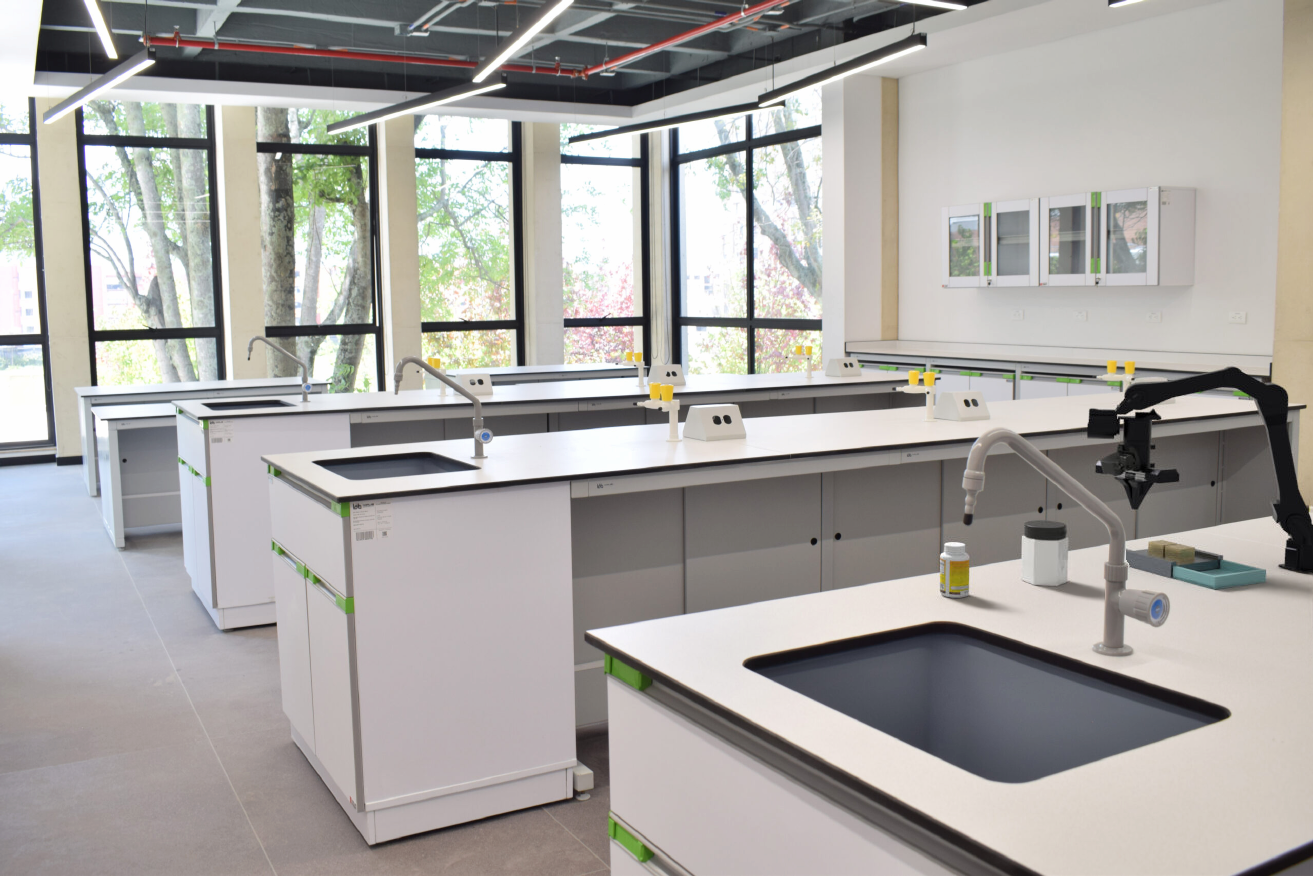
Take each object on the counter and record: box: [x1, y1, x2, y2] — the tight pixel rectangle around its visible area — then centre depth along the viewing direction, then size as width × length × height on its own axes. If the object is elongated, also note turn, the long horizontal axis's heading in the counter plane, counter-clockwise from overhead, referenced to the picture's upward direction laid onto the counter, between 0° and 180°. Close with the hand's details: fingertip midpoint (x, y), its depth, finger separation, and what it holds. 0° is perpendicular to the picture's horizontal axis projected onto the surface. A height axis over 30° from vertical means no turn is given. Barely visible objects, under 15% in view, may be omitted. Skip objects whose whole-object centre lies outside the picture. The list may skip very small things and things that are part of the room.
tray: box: [1172, 559, 1267, 591], centre depth 213 cm, size 14×10×2 cm
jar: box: [1020, 519, 1069, 587], centre depth 214 cm, size 9×8×12 cm
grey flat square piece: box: [1125, 548, 1224, 579], centre depth 224 cm, size 14×14×3 cm
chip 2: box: [1165, 543, 1196, 561], centre depth 222 cm, size 4×4×2 cm
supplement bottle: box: [939, 541, 970, 599], centre depth 205 cm, size 6×6×10 cm
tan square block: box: [1147, 539, 1178, 557], centre depth 226 cm, size 4×4×2 cm
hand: (1134, 509), depth 233 cm, fingers closed
